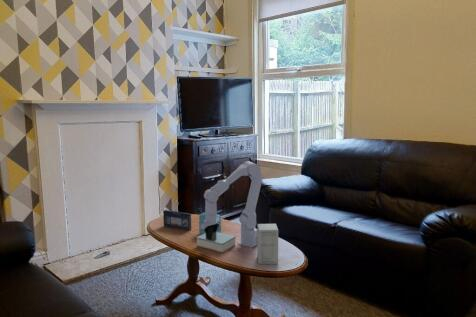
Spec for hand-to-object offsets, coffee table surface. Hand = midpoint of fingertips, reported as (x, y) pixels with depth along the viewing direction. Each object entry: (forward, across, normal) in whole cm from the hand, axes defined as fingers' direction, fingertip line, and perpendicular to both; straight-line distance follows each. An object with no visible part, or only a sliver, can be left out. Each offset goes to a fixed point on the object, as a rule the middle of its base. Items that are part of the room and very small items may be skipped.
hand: (211, 238), depth 194 cm
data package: (+6, -16, -13) cm, 22 cm away
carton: (+5, -4, 0) cm, 7 cm away
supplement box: (+6, -4, +31) cm, 32 cm away
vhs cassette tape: (+6, -14, -36) cm, 39 cm away
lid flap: (+1, -4, 0) cm, 5 cm away
